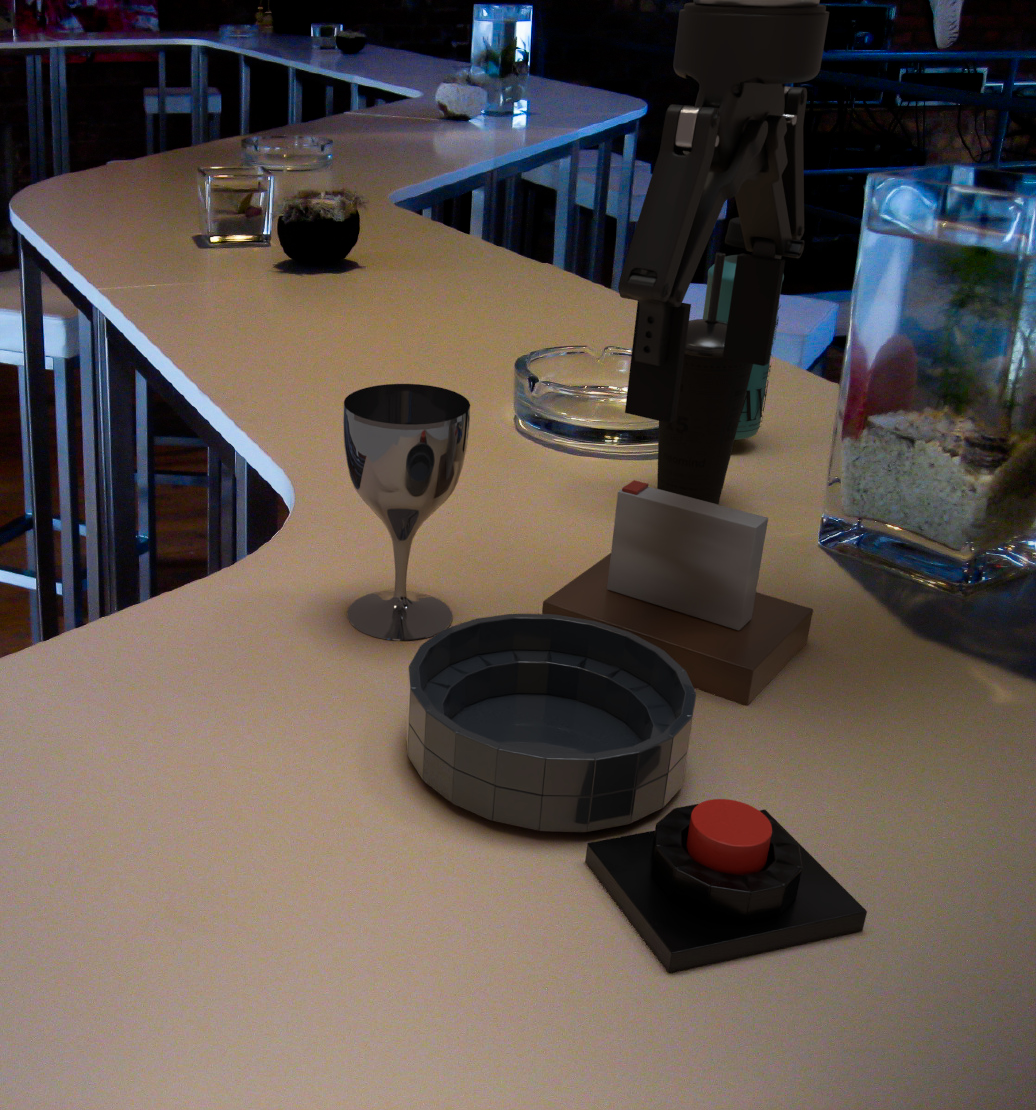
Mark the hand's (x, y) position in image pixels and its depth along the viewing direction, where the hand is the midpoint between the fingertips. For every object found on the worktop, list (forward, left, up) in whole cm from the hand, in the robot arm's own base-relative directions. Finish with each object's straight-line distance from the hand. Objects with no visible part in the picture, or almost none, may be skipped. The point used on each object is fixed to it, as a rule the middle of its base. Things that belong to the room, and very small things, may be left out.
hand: (700, 387), depth 77 cm
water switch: (+11, +23, -17) cm, 31 cm away
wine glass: (+16, -8, -17) cm, 25 cm away
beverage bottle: (-23, -31, -17) cm, 43 cm away
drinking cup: (-13, -20, -17) cm, 30 cm away
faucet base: (0, 0, -17) cm, 17 cm away
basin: (+14, +10, -17) cm, 24 cm away
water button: (+11, +23, -14) cm, 29 cm away
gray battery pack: (0, 0, -15) cm, 15 cm away
